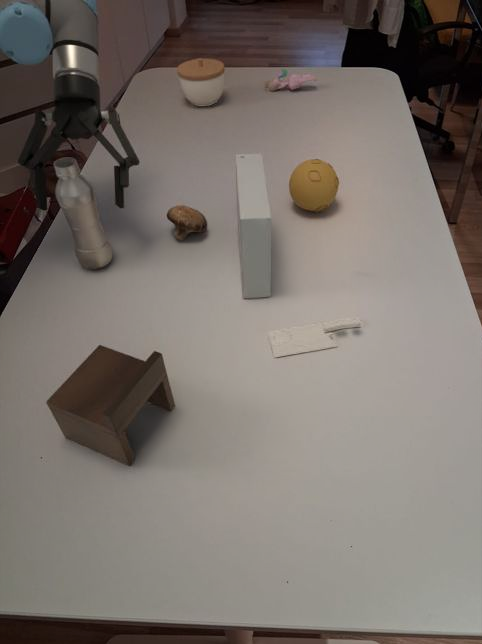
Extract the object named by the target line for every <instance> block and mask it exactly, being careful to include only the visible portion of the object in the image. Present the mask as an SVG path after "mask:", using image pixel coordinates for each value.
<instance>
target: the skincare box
mask: <svg viewBox="0 0 482 644" xmlns="http://www.w3.org/2000/svg"><path fill="white" fill-rule="evenodd" d="M234 156H235V158H234V159H235V182H236V183H235V184H236V215H237V237H238V254H239V255H238V256H239V267H240V268H239V269H240V281H241V283H240V284H241V297H242V299H251V298H252V299H254V298H255V299H258V298H270V297H271V289H272V288H271V287H272V286H271V284H272V283H271V282H272V210H271V205H270V200H269V199H270V198H269V191H268V184H267V178H266V177H267V176H266V170H265V165H264V163H265V162H264V157H263V153H237V154H235V155H234Z"/></svg>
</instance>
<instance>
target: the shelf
mask: <svg viewBox="0 0 482 644" xmlns="http://www.w3.org/2000/svg"><path fill="white" fill-rule="evenodd" d="M170 383H171V382H170V380H169V375H168V372H167V368H166V364H165V360H164V356H163V353H162V352H159V351H156V350H154V351H153V352H152V353H151V354H150V355H149V356H148V357H147V359H146V360H142V359H140V358H137V357H134V356H133V355H129V354H127V353H124V352H121V351H118V350H115V349H113V348H110V347H107V346H104V345H101V344H98V346H97V347H96V348H95V349H94V350H93V351H92V352H91V353H90V354H89V355H88V356H87V357H86V358H85V359H84V360H83V361H82V363H81V364H80V365H79V366H78V367H77V368H76V369H75V370H74V371H73V372H72V373H71V375H70V376H68V378H67V379H66V380H65V381H64V382H63V383H62V384H61V385H60V386H59V387H58V388H57V390H55V391H54V393H52V395H51V396H50V397H49V398H48V399H47V400H46V401H45V403H46V405H47V408H48V409H49V410H50V412H51V415H52V416H53V418H54V420H55V421H56V423H57V425H58V427H59V429H60V431H61V433H62V435H63V436H64V438H65V439H68V440H69V441H72V442H74V443H76V444H79V445H80V446H83V447H85V448H87V449H90V450H92V451H95V452H97V453H99V454H101V455H103V456H106V457H108V458H110V459H112V460H115V461H117V462H118V463H119V462H120V463H121V464H124V465H126V466H128V467H131V466H132V465H133V464H134V463H135V461H136V457H135V454H134V452H133V450H132V447H131V444H130V442H129V439H128V437H127V435H126V432H125V430H126V429H127V427H128V426H129V425H130V423H131V421H132V420H133V419H134V418H135V417H136V416H137V414H138V413H139V412H140V410H141V409H142V407H143V406H144V405H145V404H146V403H147V404H151V405H153V406H155V407H159V408H161V409H163V410H166V411H169V412H172V411H173V409H174V408H175V407H176V402H175V399H174V396H173V391H172V388H171V384H170Z"/></svg>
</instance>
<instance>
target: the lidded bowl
mask: <svg viewBox="0 0 482 644" xmlns="http://www.w3.org/2000/svg"><path fill="white" fill-rule="evenodd" d="M225 69H226V68H225V64H224V63H223V62H222V61H220V60H218V59H214V58H201V57H200V58H195V59H191V60H186V61H185V62H182V63H180V64H179V65H178V66H177V68H176V72H177V76H178V82H179V84H180V89H181V92H182V95H183V96H184V97H185V98H186V99H187V101H189V102H190V103H191V104H192V103H193V104H196V105H209V104H212V103H215V102H216V101H217V102H218V100H219V99H220V98H221V97H222V95H223V93H224V89H225V85H226V84H225V83H226V81H225V80H226V77H225V75H226V74H225ZM193 104H192V105H193Z"/></svg>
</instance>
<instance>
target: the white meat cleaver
mask: <svg viewBox="0 0 482 644" xmlns="http://www.w3.org/2000/svg"><path fill="white" fill-rule="evenodd" d="M361 327H362V321H361V319H360V317H359V316H353V317H347V318H340V319H335V320H329V321H322V322H316V323H311V324H309V323H308V324H305V325H297V326H289V327H286V328H282V329H276V330H271V331H267V333H266V334H267V338H268V341H269V345H270V349H271V351H272V354H273V358H274V359H275V358H280V357H286V356H291V355H296V354H303V353H308V352H309V353H310V352H315V351H320V350H321V351H322V350H324V349H325V350H326V349H332V348H337V347H338V345H337V344H336V343H335V341H334V340H333V339H332V338H333V331H337V330H341V329H349V328H350V329H352V328H361Z"/></svg>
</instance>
